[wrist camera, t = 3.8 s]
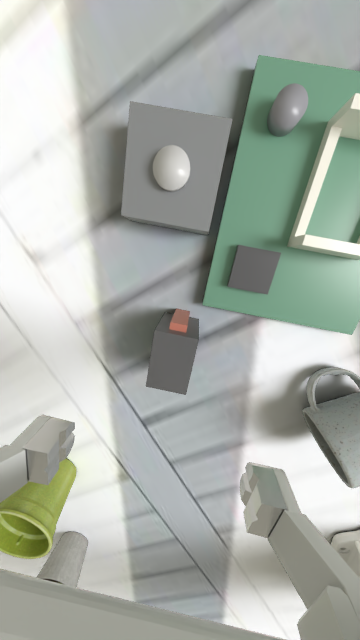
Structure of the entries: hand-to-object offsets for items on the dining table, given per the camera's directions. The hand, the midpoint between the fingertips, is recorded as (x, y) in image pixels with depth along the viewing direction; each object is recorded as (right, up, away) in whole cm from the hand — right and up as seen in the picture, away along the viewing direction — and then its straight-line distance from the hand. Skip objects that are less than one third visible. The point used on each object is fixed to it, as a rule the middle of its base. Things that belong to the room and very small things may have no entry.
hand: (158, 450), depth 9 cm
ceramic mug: (+20, -4, +16) cm, 26 cm away
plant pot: (-19, -18, +24) cm, 36 cm away
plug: (+1, +4, +15) cm, 16 cm away
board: (+13, +16, +10) cm, 23 cm away
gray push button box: (+1, +19, +10) cm, 22 cm away
